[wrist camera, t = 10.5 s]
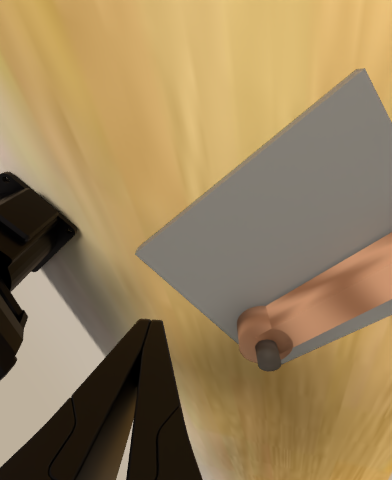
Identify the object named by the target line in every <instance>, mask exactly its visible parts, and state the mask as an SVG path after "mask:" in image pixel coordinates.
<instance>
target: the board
mask: <svg viewBox="0 0 392 480" xmlns="http://www.w3.org/2000/svg"><path fill="white" fill-rule="evenodd" d="M391 232H392V122H391V120H390V118H389V116H388V114H387V112H386V110H385V108H384V106H383V104H382V102H381V100H380V98H379V96H378V94H377V92H376V90H375V88H374V86H373V84H372V82H371V80H370V78H369V76H368V74H367V72H366V70H365V68H364V69H356V70H355V71H354V72H352V73H351V74H350V75H349V76H348V77H346V78H345V79H344V80H343V81H341V82H340V83H339V84H338V85H336V86H335V87H334V88H333V89H332V90H330V91H329V92H328V93H327V94H325V95H324V96H323V97H322V98H321V99H319V100H318V101H317V102H316V103H314V104H313V105H312V106H311V107H310V108H308V109H307V110H306V111H305V112H303V113H302V114H301V115H300V116H299V117H297V118H296V119H295V120H294V121H292V122H291V123H290V124H289V125H287V126H286V127H285V128H284V129H283V130H281V131H280V132H279V133H278V134H276V135H275V136H274V137H273V138H272V139H270V140H269V141H268V142H267V143H265V144H264V145H263V146H262V147H261V148H259V149H258V150H257V151H256V152H254V153H253V154H252V155H251V156H249V157H248V158H247V159H246V160H245V161H243V162H242V163H241V164H240V165H238V166H237V167H236V168H235V169H234V170H232V171H231V172H230V173H229V174H227V175H226V176H225V177H224V178H223V179H221V180H220V181H219V182H218V183H216V184H215V185H214V186H213V187H212V188H210V189H209V190H208V191H207V192H205V193H204V194H203V195H202V196H200V197H199V198H198V199H197V200H196V201H194V202H193V203H192V204H191V205H189V206H188V207H187V208H186V209H185V210H183V211H182V212H181V213H180V214H178V215H177V216H176V217H175V218H174V219H172V220H171V221H170V222H169V223H167V224H166V225H165V226H164V227H163V228H161V229H160V230H159V231H158V232H156V233H155V234H154V235H153V236H151V237H150V238H149V239H148V240H147V241H145V242H144V243H143V244H142V245H140V246H139V247H138V248H137V251H136V253H135V255H137V256H138V257H139V258H140V259H141V260H142V261H143V262H145V263H146V264H147V265H148V266H149V267H150V268H151V269H153V270H154V271H155V272H156V273H157V274H158V275H159V276H161V277H162V278H163V279H164V280H165V281H166V282H167V283H169V284H170V285H171V286H172V287H173V288H174V289H176V290H177V291H178V292H179V293H180V294H181V295H182V296H184V297H185V298H186V299H187V300H188V301H189V302H190V303H192V304H193V305H194V306H195V307H196V308H197V309H198V310H200V311H201V312H202V313H203V314H204V315H205V316H206V317H208V318H209V319H210V320H211V321H212V322H213V323H215V324H216V325H217V326H218V327H219V328H220V329H221V330H223V331H224V332H225V333H226V334H227V335H228V336H229V337H231V338H232V339H233V340H234V341H235V342H236V343H237V344H239V340H238V331H237V320H238V318H239V316H240V315H241V314H242V313H243V312H244V311H246V310H247V309H249V308H252V307H256V306H266V305H268V304H270V303H272V302H273V301H275V300H277V299H278V298H280V297H282V296H284V295H285V294H287V293H289V292H290V291H292V290H294V289H296V288H297V287H299V286H301V285H302V284H304V283H306V282H308V281H309V280H311V279H313V278H314V277H316V276H318V275H320V274H321V273H323V272H325V271H326V270H328V269H330V268H331V267H333V266H335V265H337V264H338V263H340V262H342V261H343V260H345V259H347V258H349V257H350V256H352V255H354V254H355V253H357V252H359V251H361V250H362V249H364V248H366V247H367V246H369V245H371V244H373V243H374V242H376V241H378V240H379V239H381V238H383V237H385V236H386V235H388V234H390V233H391ZM390 315H392V299H391V300H389V301H387V302H385V303H383V304H381V305H379V306H377V307H375V308H373V309H371V310H369V311H367V312H365V313H363V314H360V315H358V316H356V317H354V318H352V319H350V320H348V321H346V322H344V323H342V324H340V325H338V326H336V327H334V328H332V329H330V330H328V331H326V332H324V333H322V334H320V335H318V336H316V337H314V338H312V339H310V340H308V341H306V342H304V343H302V344H300V345H297V346H295V347H293V349H292V351H291V352H290V354H289V355H288V356H287V357H285V358H284V359H282V360H281V363H282V364H284V363H286V362H288V361H290V360H292V359H295V358H297V357H299V356H301V355H304V354H306V353H308V352H310V351H312V350H315V349H317V348H319V347H321V346H323V345H326V344H328V343H330V342H332V341H335V340H337V339H339V338H341V337H343V336H346V335H348V334H350V333H352V332H355V331H357V330H359V329H361V328H363V327H366V326H368V325H370V324H372V323H375V322H377V321H379V320H381V319H383V318H386V317H388V316H390Z"/></svg>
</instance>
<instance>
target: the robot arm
mask: <svg viewBox="0 0 392 480" xmlns="http://www.w3.org/2000/svg"><path fill="white" fill-rule="evenodd" d="M6 177H7V178H8V179H9V181H10V182H9V181H8V180H7V179H6ZM68 229H71V230H72V232H70V231H69V230H68ZM76 233H77V228H76V226H75V225H74V224H72V223H71V222H70V221H69V220H68V219H66V218H65V217H64V216H63V215H62V214H60V213H59V212H58V211H57V210H56V209H55V208H53V207H52V206H51V205H50V204H49V203H47V202H46V201H45V200H44V199H43V198H41V197H40V196H39V195H38V194H37V193H35V192H34V191H33V190H32V189H30V188H29V187H28V186H27V185H26V184H24V183H23V182H22V181H21V180H20V179H18V178H17V177H16V176H15V175H14V174H12V173H11V172H4V173H1V174H0V380H1V379H2V378H4V377H5V376H6V375H7V373H8V372H9V371H10V370H11V368H12V367H13V366H14V365H15V363H16V361H17V358H16V357H15V355H16V353H17V352H18V350H19V347H20V345H21V343H22V341H23V332H24V327H25V324H26V321H27V318H28V316H27V314H26V313H25V311H24V310H22V309H21V308H20V306H19V305H18V304H17V302H16V300H15V299H14V297H13V295H12V294H11V291H12V290H13V289H14V288H15V287H16V286H17V285H18V284H19V283H20V282H21V281H22V280H23V279H24V278H25V277H26V276H27V275H28V274H29V273H30V272H31V271H32V272H36V271H38V270H39V269H40V268H41V267H42V266H43V265H44V264H45V263H46V262H47V261H48V260H49V259H50V258H51V257H52V256H53V255H54V254H55V253H57V252H58V251H59V250H60V249H61V248H62V247H63V246H64V245H65V244H66V243H67V242H68V241H69V240H70V239H71V238H72V237H73V236H74V235H75V234H76ZM133 419H134V421H133ZM132 422H133V429H132V437H131V446H130V453H129V462H128V470H127V478H126V480H203V479H202V476H201V473H200V471H199V468H198V465H197V462H196V459H195V456H194V453H193V450H192V447H191V444H190V441H189V437H188V434H187V430H186V426H185V422H184V417H183V413H182V408H181V404H180V399H179V395H178V390H177V385H176V381H175V376H174V371H173V367H172V362H171V358H170V353H169V348H168V344H167V339H166V334H165V330H164V325H163V321H162V320H152V321H151V320H150V319H139V320H138V321H137V323H136V324H135V325H134V326H133V327H132V328H131V329H130V330H129V332H128V333H127V334H126V335H125V336H124V337H123V338H122V339H121V341H120V342H119V343H118V344H117V345H116V346H115V347H114V348H113V350H112V351H111V352H110V353H109V354H108V355H107V356H106V357H105V359H104V360H103V361H102V362H101V363H100V364H99V365H98V366H97V368H96V369H95V370H94V371H93V372H92V373H91V374H90V375H89V377H88V378H87V379H86V380H85V381H84V382H83V383H82V384H81V386H80V387H79V388H78V389H77V390H76V391H75V392H74V393H73V395H72V397H71V398H69V399H68V400H67V401H66V402H65V403H64V405H63V406H62V407H61V408H60V409H59V410H58V411H57V412H56V413H55V414H54V416H53V417H52V418H51V419H50V420H49V421H48V422H47V423H46V424H45V425H44V426H43V427H42V428H41V429H40V430H39V431H38V432H37V433H36V434H35V435H34V436H33V437H32V438H31V439H30V440H29V441H28V442H27V443H26V444H25V445H24V446H23V447H21V448H20V449H19V450H18V451H17V452H16V453H15V454H14V455H13V456H12V457H11V458H10V459H9V460H8V461H7V462H6V463H5V464H4V465H3V466H2V467H1V468H0V480H116V478H117V474H118V471H119V467H120V464H121V460H122V457H123V454H124V450H125V447H126V443H127V440H128V436H129V433H130V429H131V426H132Z"/></svg>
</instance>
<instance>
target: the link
mask: <svg viewBox="0 0 392 480" xmlns="http://www.w3.org/2000/svg"><path fill="white" fill-rule="evenodd" d="M391 299H392V232H391V233H390V234H388V235H386V236H385V237H383V238H381V239H379V240H378V241H376V242H374V243H373V244H371V245H369V246H367V247H366V248H364V249H362V250H361V251H359V252H357V253H355V254H354V255H352V256H350V257H349V258H347V259H345V260H343V261H342V262H340V263H338V264H337V265H335V266H333V267H331V268H330V269H328V270H326V271H325V272H323V273H321V274H320V275H318V276H316V277H314V278H313V279H311V280H309V281H308V282H306V283H304V284H302V285H301V286H299V287H297V288H296V289H294V290H292V291H290V292H289V293H287V294H285V295H284V296H282V297H280V298H278V299H277V300H275V301H273V302H272V303H270V304H268V305H266V306H256V307H252V308H249V309H247V310H246V311H244V312H243V313H242V314H241V315H240V316H239V318H238V320H237V331H238V340H239V349H240V352H241V354H242V355H243V356H244V357H245V358H246V359H248V360H249V361H252V362H255V363H258V366H259V368H260V369H261V370H264V371H274V370H277V369H279V368H280V367H281V364H282V363H281V360H282V359H284V358H285V357H287V356H288V355H289V354H290V352H291V351H292V349H293V347H295V346H297V345H300V344H302V343H304V342H306V341H308V340H310V339H312V338H314V337H316V336H318V335H320V334H322V333H324V332H326V331H328V330H330V329H332V328H334V327H336V326H338V325H340V324H342V323H344V322H346V321H348V320H350V319H352V318H354V317H356V316H358V315H360V314H363V313H365V312H367V311H369V310H371V309H373V308H375V307H377V306H379V305H381V304H383V303H385V302H387V301H389V300H391Z"/></svg>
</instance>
